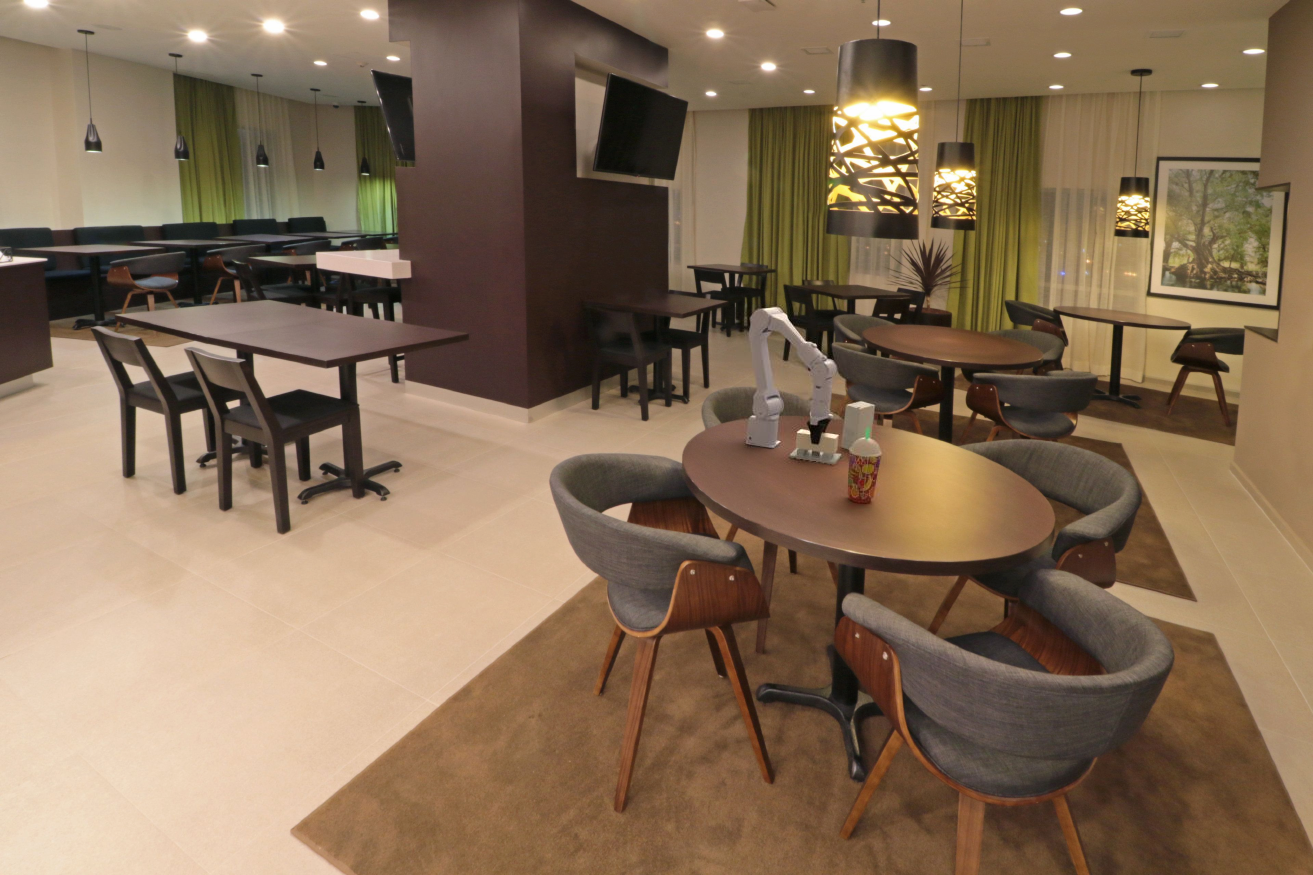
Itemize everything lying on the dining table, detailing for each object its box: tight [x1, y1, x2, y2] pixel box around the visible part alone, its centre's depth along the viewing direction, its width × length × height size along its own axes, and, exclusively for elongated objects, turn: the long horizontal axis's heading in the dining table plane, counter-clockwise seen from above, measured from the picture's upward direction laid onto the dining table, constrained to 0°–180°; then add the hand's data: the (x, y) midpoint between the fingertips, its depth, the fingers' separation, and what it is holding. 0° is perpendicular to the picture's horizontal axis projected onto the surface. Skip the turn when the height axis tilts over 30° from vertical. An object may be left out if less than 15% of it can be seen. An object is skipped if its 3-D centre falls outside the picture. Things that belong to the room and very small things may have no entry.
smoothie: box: [846, 428, 883, 504], centre depth 209 cm, size 8×8×20 cm
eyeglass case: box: [795, 429, 840, 454], centre depth 246 cm, size 12×4×5 cm, turn 65°
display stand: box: [788, 448, 842, 466], centre depth 247 cm, size 14×10×3 cm
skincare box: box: [840, 400, 876, 451], centre depth 256 cm, size 8×6×15 cm
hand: (816, 442), depth 246 cm, fingers closed on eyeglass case, 4 cm apart
